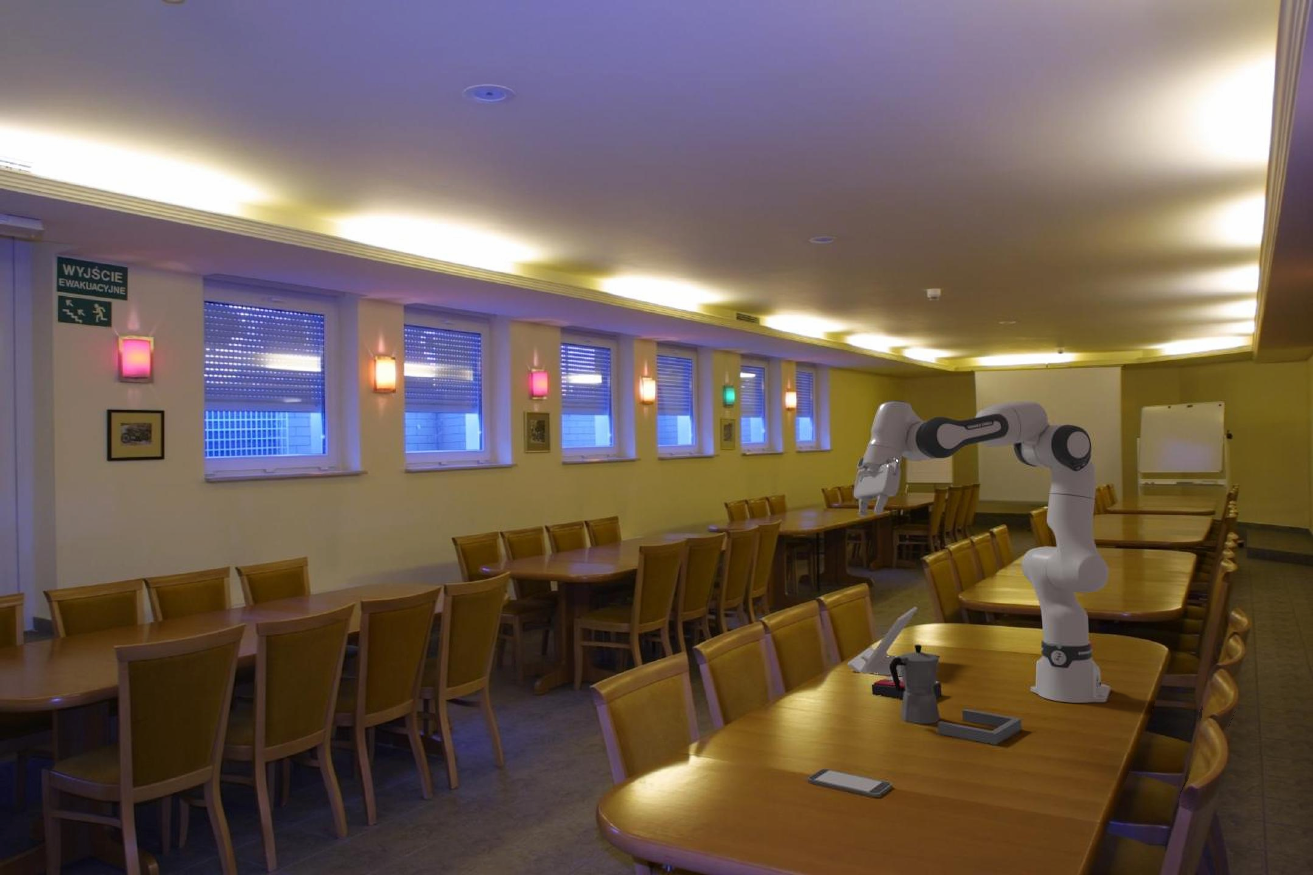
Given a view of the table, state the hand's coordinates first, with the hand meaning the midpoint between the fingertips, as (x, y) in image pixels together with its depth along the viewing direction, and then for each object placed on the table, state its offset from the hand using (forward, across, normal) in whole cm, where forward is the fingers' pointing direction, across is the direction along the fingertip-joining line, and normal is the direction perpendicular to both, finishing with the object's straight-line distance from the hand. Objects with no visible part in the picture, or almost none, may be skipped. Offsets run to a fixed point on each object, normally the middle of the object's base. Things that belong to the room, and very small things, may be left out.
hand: (869, 514), depth 223 cm
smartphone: (+59, -36, +5) cm, 70 cm away
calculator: (+41, +24, -31) cm, 56 cm away
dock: (+43, -11, -34) cm, 56 cm away
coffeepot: (+45, +2, -24) cm, 51 cm away
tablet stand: (+34, +57, -38) cm, 77 cm away
